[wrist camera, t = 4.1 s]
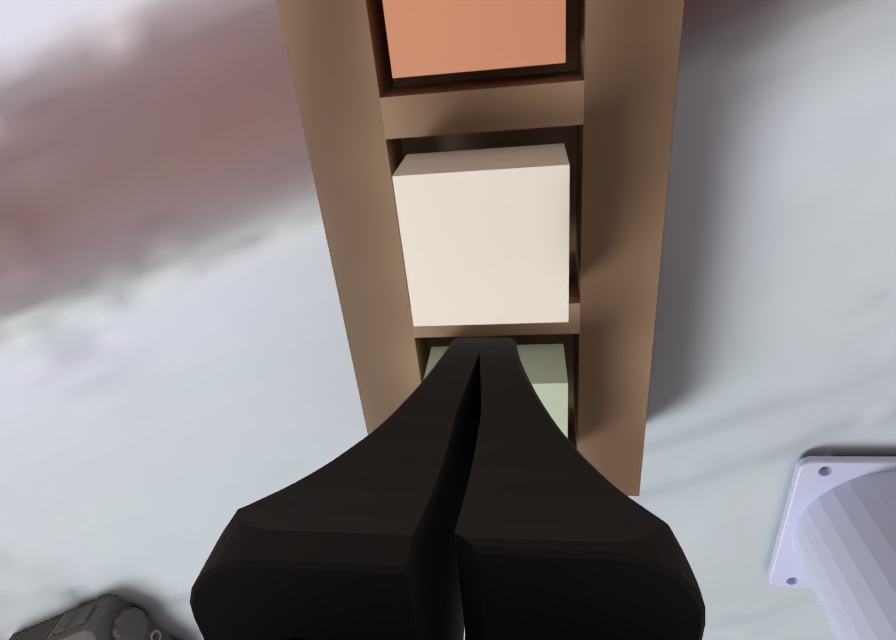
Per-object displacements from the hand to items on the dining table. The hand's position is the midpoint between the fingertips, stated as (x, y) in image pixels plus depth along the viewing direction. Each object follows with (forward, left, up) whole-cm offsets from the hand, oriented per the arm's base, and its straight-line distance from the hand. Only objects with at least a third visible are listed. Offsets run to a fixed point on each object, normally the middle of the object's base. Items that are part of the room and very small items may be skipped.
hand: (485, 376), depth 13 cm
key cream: (0, -1, -6) cm, 6 cm away
